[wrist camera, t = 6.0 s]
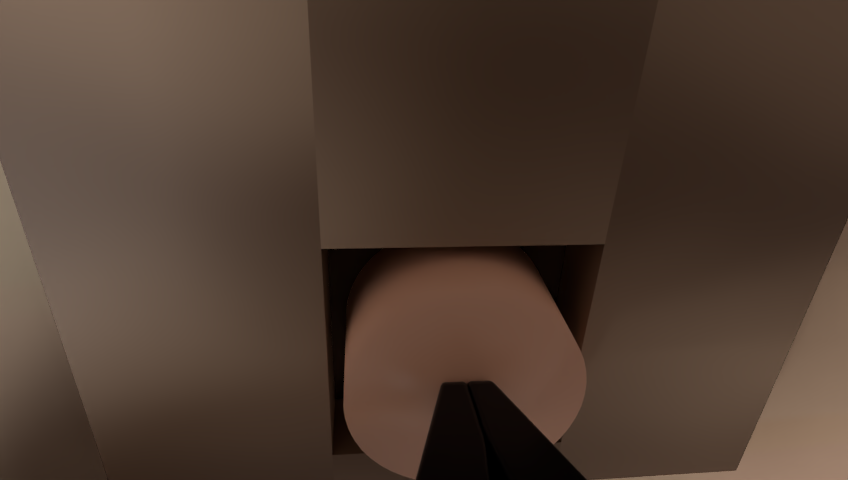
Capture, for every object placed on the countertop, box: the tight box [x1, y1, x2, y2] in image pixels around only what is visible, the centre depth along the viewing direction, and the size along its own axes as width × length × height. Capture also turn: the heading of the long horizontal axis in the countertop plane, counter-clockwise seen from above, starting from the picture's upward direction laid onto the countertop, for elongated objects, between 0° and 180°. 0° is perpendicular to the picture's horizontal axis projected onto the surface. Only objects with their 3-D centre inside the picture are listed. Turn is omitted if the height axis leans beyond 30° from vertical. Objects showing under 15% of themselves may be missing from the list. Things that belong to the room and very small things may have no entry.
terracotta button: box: [343, 246, 587, 480], centre depth 10 cm, size 4×4×2 cm
